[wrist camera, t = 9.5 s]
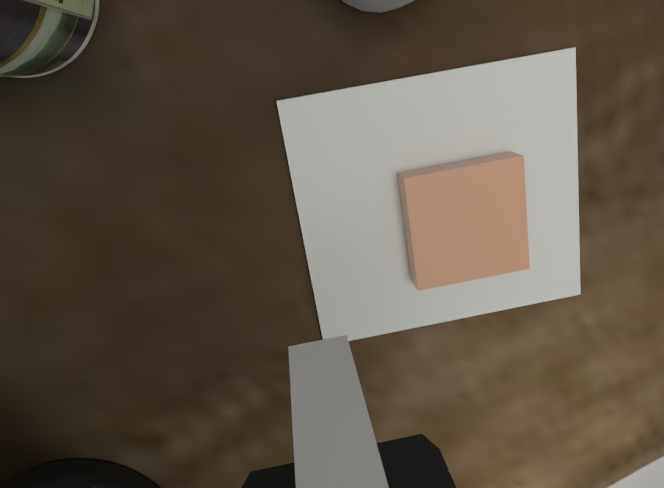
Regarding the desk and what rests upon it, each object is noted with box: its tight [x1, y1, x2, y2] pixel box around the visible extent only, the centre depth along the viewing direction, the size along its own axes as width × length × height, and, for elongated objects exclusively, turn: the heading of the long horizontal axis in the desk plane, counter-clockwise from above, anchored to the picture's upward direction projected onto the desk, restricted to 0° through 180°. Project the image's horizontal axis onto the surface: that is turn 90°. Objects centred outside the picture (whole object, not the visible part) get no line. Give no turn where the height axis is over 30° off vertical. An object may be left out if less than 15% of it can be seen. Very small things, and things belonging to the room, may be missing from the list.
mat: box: [276, 47, 580, 341], centre depth 38 cm, size 20×18×1 cm
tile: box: [397, 152, 530, 291], centre depth 37 cm, size 2×8×8 cm
